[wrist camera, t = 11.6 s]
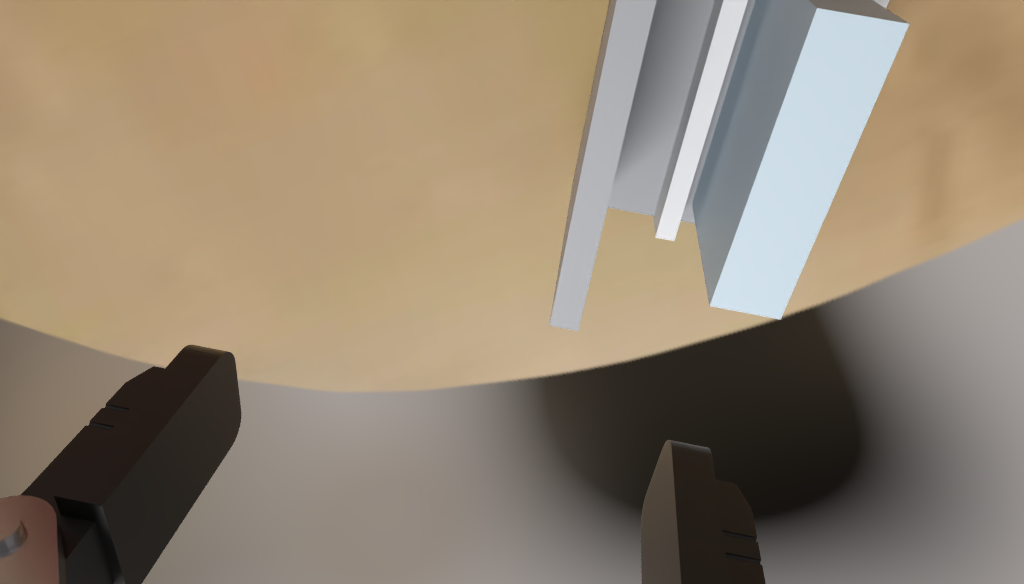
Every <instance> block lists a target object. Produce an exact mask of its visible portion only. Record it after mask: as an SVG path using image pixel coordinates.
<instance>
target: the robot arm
mask: <svg viewBox="0 0 1024 584" xmlns="http://www.w3.org/2000/svg"><path fill="white" fill-rule="evenodd" d="M240 422H241V405H240V397H239V389H238V380H237V371H236V363H235V358H234V356H233V354H232V353H231V352H226V351H221V350H216V349H211V348H206V347H201V346H196V345H188V346H186V347H184V348H183V349H182V350H181V351H180V353H179V354H178V355H177V356H176V357H175V358H174V359H173V360H172V362H171V363H170V364H169V365H168V366H167V367H166V368H165V369H164V368H159V367H152V368H150V369H148V370H147V371H145V372H143V373H141V374H140V375H138V376H136V377H135V378H133V379H131V380H129V381H128V382H126V383H125V384H124V385H123V386H122V387H121V388H120V389H119V390H118V391H117V392H116V394H115V395H114V396H113V397H112V398H111V399H110V400H109V401H108V402H107V403H106V407H105V408H102V409H101V410H100V411H99V412H98V413H97V414H96V415H95V416H94V417H93V418H92V419H91V420H90V424H89V426H85V427H84V428H83V429H82V430H81V431H80V432H79V433H78V434H77V435H76V437H75V438H74V439H73V440H72V441H71V442H70V443H69V444H68V445H67V446H66V447H65V448H64V449H63V450H62V452H61V453H60V454H59V455H58V456H57V457H56V458H55V459H54V460H53V461H52V462H51V463H50V464H49V466H48V467H47V468H46V469H45V470H44V471H43V472H42V473H41V474H40V475H39V476H38V478H36V480H35V481H34V482H33V483H32V484H31V485H30V486H29V487H28V488H27V489H26V490H25V491H24V492H23V493H22V494H21V495H19V496H9V497H5V498H0V584H142V582H143V581H144V579H145V578H146V576H147V575H148V573H149V572H150V570H151V569H152V567H153V566H154V564H155V563H156V561H157V559H158V558H159V556H160V555H161V553H162V552H163V550H164V549H165V547H166V546H167V544H168V543H169V541H170V540H171V538H172V537H173V535H174V534H175V532H176V531H177V529H178V527H179V526H180V524H181V523H182V521H183V520H184V518H185V517H186V515H187V514H188V512H189V510H190V509H191V508H192V506H193V505H194V503H195V502H196V500H197V498H198V497H199V495H200V494H201V492H202V491H203V489H204V488H205V486H206V485H207V483H208V482H209V480H210V479H211V477H212V475H213V474H214V473H215V471H216V469H217V468H218V467H219V465H220V463H221V462H222V460H223V459H224V457H225V456H226V454H227V452H228V451H229V450H230V448H231V447H232V445H233V443H234V441H235V439H236V437H237V434H238V431H239V427H240ZM756 538H757V535H756V530H755V524H754V519H753V514H752V510H751V508H750V506H749V504H748V503H747V501H746V500H745V498H744V496H743V495H742V493H741V492H740V490H739V488H738V487H737V485H736V484H735V483H730V482H725V481H719V480H715V474H714V467H713V459H712V453H711V450H710V449H709V448H707V447H702V446H697V445H692V444H686V443H681V442H676V441H671V440H667V441H666V442H665V445H664V447H663V449H662V452H661V455H660V458H659V460H658V463H657V466H656V469H655V472H654V474H653V477H652V480H651V483H650V486H649V488H648V491H647V494H646V497H645V501H644V506H643V512H642V519H641V563H642V564H641V566H642V567H641V568H642V584H765V578H764V573H763V568H762V565H760V561H761V557H760V551H759V546H758V542H756Z"/></svg>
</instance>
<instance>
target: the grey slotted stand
mask: <svg viewBox="0 0 1024 584" xmlns="http://www.w3.org/2000/svg"><path fill="white" fill-rule="evenodd" d="M873 1H875V2H877V3H878V4H880V5H881V6H883V7H884V8H886V7H887V4H888V2H889V0H873ZM754 2H755V0H610V2H609V7H608V12H607V17H606V22H605V26H604V31H603V36H602V41H601V46H600V51H599V56H598V61H597V66H596V71H595V76H594V81H593V86H592V91H591V96H590V101H589V106H588V111H587V116H586V121H585V126H584V131H583V136H582V141H581V146H580V151H579V155H578V160H577V165H576V170H575V175H574V180H573V185H572V191H571V197H570V203H569V210H568V216H567V222H566V228H565V234H564V240H563V246H562V252H561V258H560V264H559V270H558V276H557V283H556V289H555V295H554V301H553V307H552V313H551V319H550V325H549V326H555V327H560V328H565V329H570V330H575V331H578V330H579V326H580V321H581V317H582V313H583V309H584V304H585V300H586V296H587V292H588V288H589V283H590V279H591V275H592V271H593V266H594V262H595V258H596V254H597V250H598V245H599V241H600V237H601V233H602V228H603V224H604V220H605V216H606V212H607V207H608V208H614V209H619V210H625V211H630V212H635V213H641V214H646V215H651V216H654V225H655V237H656V238H661V239H666V240H672V241H674V240H675V237H676V234H677V231H678V227H679V224H680V221H683V222H689V223H694V224H695V219H694V213H693V208H692V201H693V198H694V195H695V192H696V188H697V185H698V182H699V179H700V176H701V172H702V169H703V166H704V163H705V159H706V156H707V153H708V150H709V147H710V143H711V140H712V137H713V134H714V131H715V127H716V124H717V121H718V118H719V115H720V111H721V108H722V105H723V102H724V99H725V95H726V92H727V89H728V86H729V83H730V79H731V76H732V73H733V70H734V66H735V63H736V60H737V57H738V54H739V50H740V47H741V44H742V41H743V38H744V34H745V31H746V28H747V25H748V22H749V18H750V15H751V12H752V9H753V6H754Z"/></svg>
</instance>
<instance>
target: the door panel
mask: <svg viewBox="0 0 1024 584" xmlns="http://www.w3.org/2000/svg"><path fill="white" fill-rule="evenodd" d="M908 26H909V23H907V22H906V21H904V20H903V19H901V18H900V17H898V16H897V15H895V14H893V13H892V12H890V11H889V10H887V9H886V8H884V7H883V6H881V5H880V4H878V3H877V2H875V1H873V0H755V2H754V6H753V9H752V12H751V15H750V18H749V22H748V25H747V28H746V31H745V34H744V38H743V41H742V44H741V47H740V50H739V54H738V57H737V60H736V63H735V66H734V70H733V73H732V76H731V79H730V83H729V86H728V89H727V92H726V95H725V99H724V102H723V105H722V108H721V111H720V115H719V118H718V121H717V124H716V127H715V131H714V134H713V137H712V140H711V143H710V147H709V150H708V153H707V156H706V159H705V163H704V166H703V169H702V172H701V176H700V179H699V182H698V185H697V188H696V192H695V195H694V198H693V201H692V208H693V213H694V219H695V225H696V231H697V236H698V242H699V248H700V254H701V259H702V265H703V271H704V277H705V282H706V288H707V294H708V300H709V306H712V307H717V308H723V309H728V310H733V311H738V312H744V313H749V314H754V315H759V316H764V317H770V318H775V319H781V317H782V315H783V313H784V310H785V308H786V306H787V304H788V301H789V299H790V297H791V294H792V292H793V290H794V287H795V285H796V283H797V281H798V278H799V276H800V274H801V271H802V269H803V267H804V265H805V262H806V260H807V258H808V255H809V253H810V251H811V249H812V246H813V244H814V242H815V239H816V237H817V235H818V233H819V230H820V228H821V226H822V223H823V221H824V219H825V216H826V214H827V212H828V210H829V207H830V205H831V203H832V200H833V198H834V196H835V194H836V191H837V189H838V187H839V184H840V182H841V180H842V178H843V175H844V173H845V171H846V168H847V166H848V164H849V161H850V159H851V157H852V155H853V152H854V150H855V148H856V145H857V143H858V141H859V139H860V136H861V134H862V132H863V129H864V127H865V125H866V123H867V120H868V118H869V116H870V113H871V111H872V109H873V106H874V104H875V102H876V100H877V97H878V95H879V93H880V90H881V88H882V86H883V84H884V81H885V79H886V77H887V74H888V72H889V70H890V68H891V65H892V63H893V61H894V58H895V56H896V54H897V51H898V49H899V47H900V45H901V42H902V40H903V38H904V35H905V33H906V31H907V29H908Z"/></svg>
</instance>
